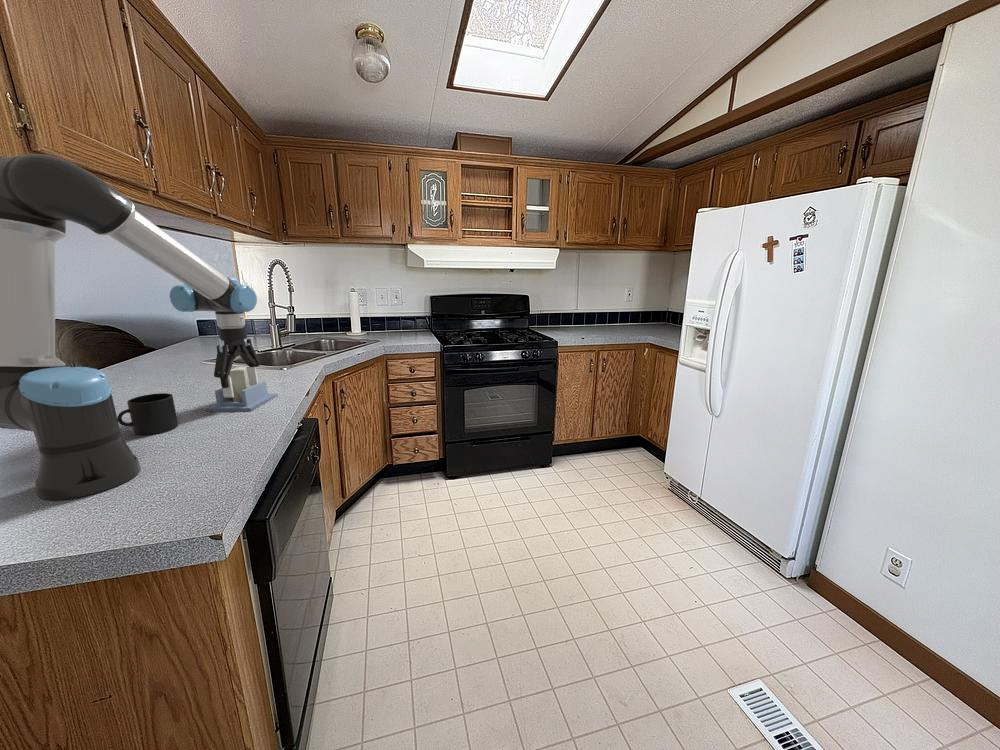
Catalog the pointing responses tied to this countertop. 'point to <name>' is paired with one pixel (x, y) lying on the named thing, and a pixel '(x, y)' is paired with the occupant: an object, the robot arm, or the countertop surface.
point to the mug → (151, 414)
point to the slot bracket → (243, 399)
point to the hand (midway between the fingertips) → (242, 391)
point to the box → (238, 382)
